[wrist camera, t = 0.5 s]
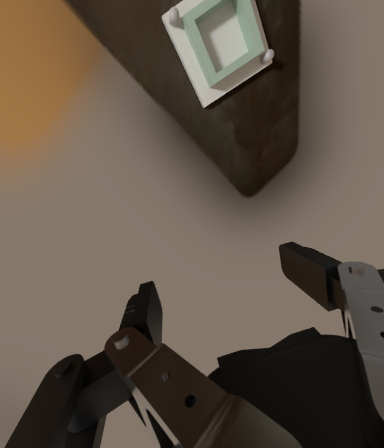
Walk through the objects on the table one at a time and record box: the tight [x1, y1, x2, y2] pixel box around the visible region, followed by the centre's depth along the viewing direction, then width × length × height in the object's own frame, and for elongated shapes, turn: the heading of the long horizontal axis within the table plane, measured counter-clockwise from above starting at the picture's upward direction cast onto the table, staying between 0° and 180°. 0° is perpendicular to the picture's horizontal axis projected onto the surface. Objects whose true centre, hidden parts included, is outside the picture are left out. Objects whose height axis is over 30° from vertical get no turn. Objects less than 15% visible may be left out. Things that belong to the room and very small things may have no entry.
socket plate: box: [162, 0, 274, 108], centre depth 28 cm, size 12×12×4 cm
